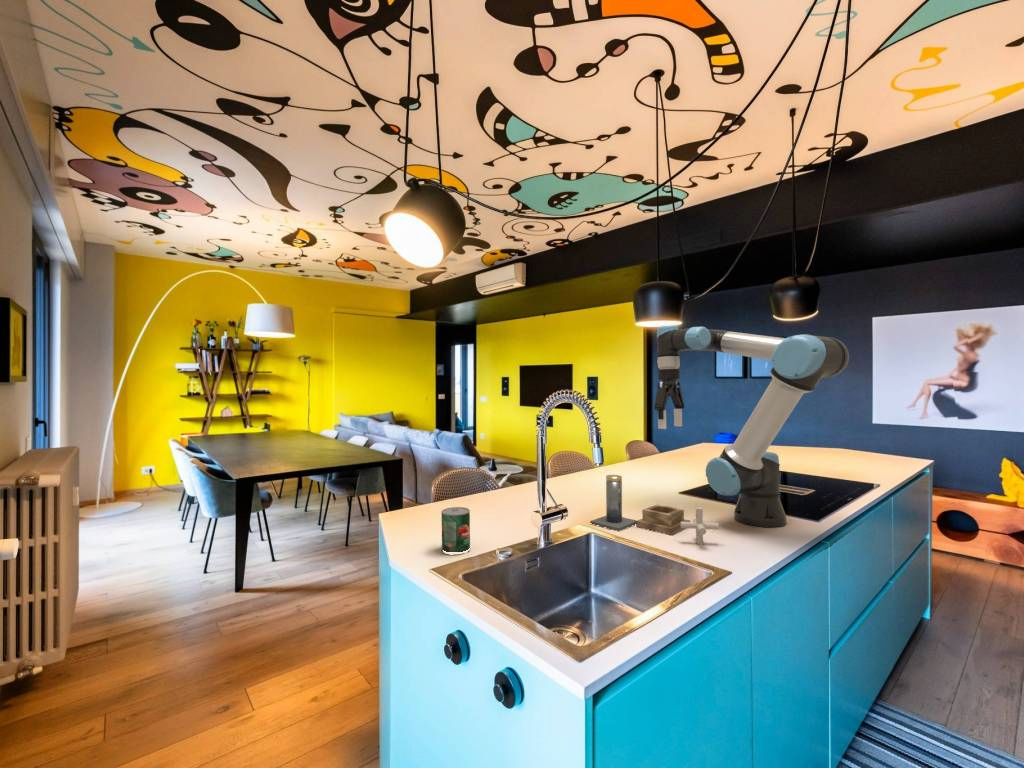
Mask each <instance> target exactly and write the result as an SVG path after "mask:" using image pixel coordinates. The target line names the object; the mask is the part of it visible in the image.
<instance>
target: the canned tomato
mask: <svg viewBox="0 0 1024 768" xmlns="http://www.w3.org/2000/svg"><path fill="white" fill-rule="evenodd" d="M470 511H471V510H470V509H469V508H468V507H464V506H463V507H462V506H453V507H447V508H444V509H442V510H441V511H440V512H441V550H442V549H443V550H444V551H446V552H463V551H466V550H468V549H469V548H470V549H471V517H470V516H471V515H470V513H471V512H470Z"/></svg>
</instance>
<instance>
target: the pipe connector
mask: <svg viewBox="0 0 1024 768" xmlns="http://www.w3.org/2000/svg"><path fill="white" fill-rule="evenodd" d="M703 509H704V508H703V507H695V517H694V518H693V519H692V521H690V522H680V526H681V528H687V529H695V544H696V545H701V544H702V545H704V535H706V534H707V530H715V531H718V530H720V526H719V523H718V522H704V520H703V519H704V516H703V515H704V514H703V511H704V510H703Z"/></svg>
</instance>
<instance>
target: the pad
mask: <svg viewBox="0 0 1024 768" xmlns="http://www.w3.org/2000/svg"><path fill="white" fill-rule="evenodd" d="M636 521H637V520H635V519H632V518H628V517H623V516H622V522H620V523H611V522H608V521H606V515H603V516H601V517H599V518H598V517H597V518H595V519H591V520H590V521H589V524H590V523H592V524H595V525H594V526H596V525H599V526H598V527H600V526H602V527H601V528H604V527H606V528H605V529H608V528H609V529H608V530H612V529H613V531H616V530H617V531H616V532H620V530H621V531H623V529H624V530H626V529H628V528H627V527H629V528H631V527H633V526H632V525H634V526H636V525H635V524H636ZM592 524H591V525H592ZM630 526H631V527H630ZM625 528H626V529H625Z"/></svg>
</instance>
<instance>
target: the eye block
mask: <svg viewBox="0 0 1024 768" xmlns="http://www.w3.org/2000/svg"><path fill="white" fill-rule="evenodd" d="M641 512H642V518H640V519H638V520H637V521H636V525H635V526H637V527H636V528H638V527H641V528H640V529H642V528H645V529H644V530H646V529H649V530H648V531H651V530H653V531H652V532H655V531H657V532H656V533H659V532H660V533H659V534H663V533H665V534H664V535H667V534H668V536H671V535H672V536H674V535H677V534H678V533H681V532H683V531H685V530H687V529H686V528H681V526H680V522H691V520H690V519H685V509H682V508H678V507H672V506H667V505H662V504H655V505H652V506H649V507H647V508H646V507H645V508H643V509H642V511H641ZM684 529H685V530H684ZM682 530H683V531H682ZM673 534H674V535H673Z"/></svg>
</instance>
